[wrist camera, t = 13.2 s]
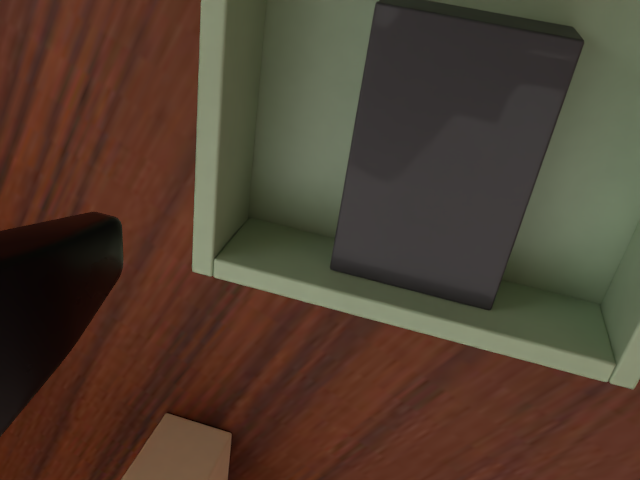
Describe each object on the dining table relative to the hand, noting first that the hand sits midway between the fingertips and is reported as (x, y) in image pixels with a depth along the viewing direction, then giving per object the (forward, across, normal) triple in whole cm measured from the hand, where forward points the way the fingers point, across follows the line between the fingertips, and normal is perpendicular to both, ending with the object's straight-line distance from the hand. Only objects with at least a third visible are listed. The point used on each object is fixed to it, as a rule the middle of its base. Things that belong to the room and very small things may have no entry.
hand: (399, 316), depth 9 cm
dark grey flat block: (+8, 0, 0) cm, 8 cm away
